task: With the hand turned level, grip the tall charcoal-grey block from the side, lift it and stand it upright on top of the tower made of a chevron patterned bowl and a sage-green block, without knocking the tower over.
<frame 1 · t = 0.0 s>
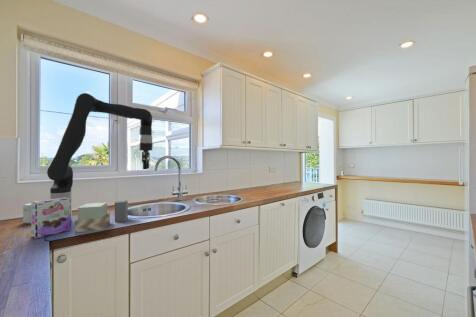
hand: (146, 168, 136), 29 cm above the worktop, tool pointing down, fingers open, 8 cm apart
candy box: (52, 233, 106), on the worktop
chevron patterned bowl: (93, 227, 115), on the worktop
sage block: (93, 216, 115), point 6 cm above the worktop
grey block: (121, 220, 128), on the worktop
small box: (34, 222, 126), on the worktop
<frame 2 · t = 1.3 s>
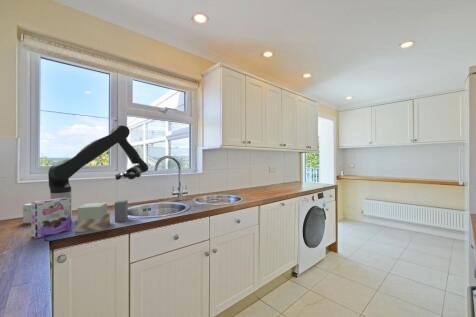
hand: (124, 177, 136), 24 cm above the worktop, tool horizontal, fingers open, 8 cm apart
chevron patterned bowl: (93, 227, 115), on the worktop, touching sage block
sage block: (93, 216, 115), point 6 cm above the worktop, touching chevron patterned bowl
everything else where it was.
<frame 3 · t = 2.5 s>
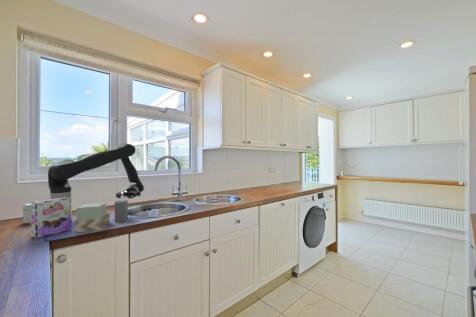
hand: (126, 196, 139), 12 cm above the worktop, tool horizontal, fingers open, 8 cm apart
nothing on the worktop moved.
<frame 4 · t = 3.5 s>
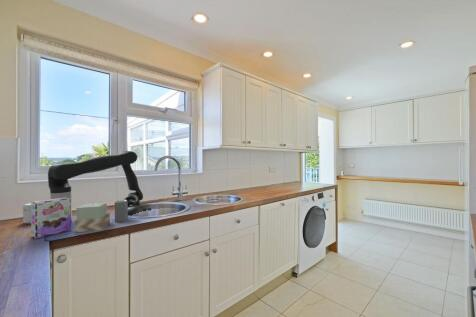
hand: (125, 205, 137), 6 cm above the worktop, tool horizontal, fingers open, 8 cm apart
nothing on the worktop moved.
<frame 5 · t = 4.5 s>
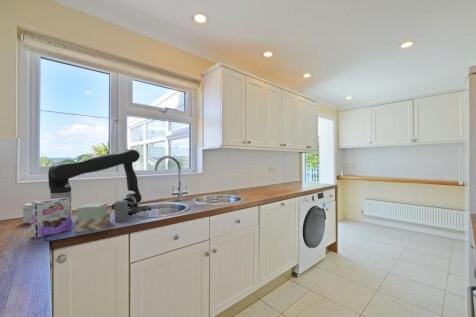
hand: (122, 207, 131), 7 cm above the worktop, tool horizontal, fingers open, 8 cm apart
nothing on the worktop moved.
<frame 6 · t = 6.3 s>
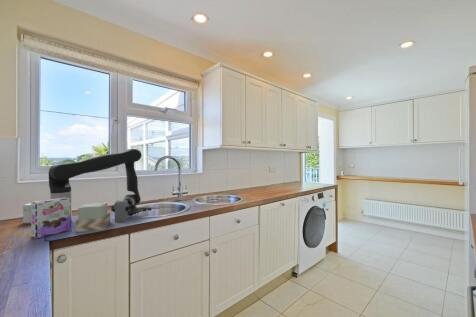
hand: (120, 209, 125), 7 cm above the worktop, tool horizontal, fingers closed on grey block, 5 cm apart
grey block: (121, 220, 128), on the worktop, touching gripper
everything else where it was.
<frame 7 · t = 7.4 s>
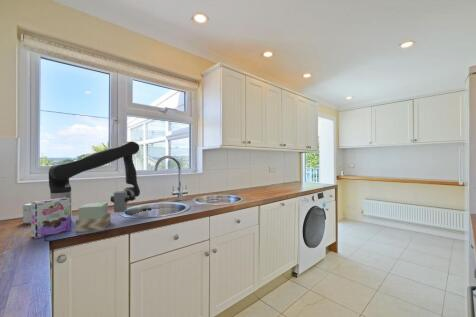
hand: (119, 200, 125), 12 cm above the worktop, tool horizontal, fingers closed on grey block, 5 cm apart
grey block: (120, 211, 127), point 5 cm above the worktop, touching gripper
everything else where it was.
when the fingers open (20 cm above the worktop, at t = 11.1 s): grey block drops 2 cm, resting on sage block.
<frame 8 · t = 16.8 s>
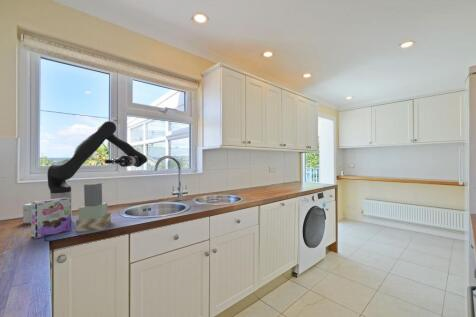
hand: (111, 161, 136), 34 cm above the worktop, tool horizontal, fingers open, 8 cm apart
sage block: (93, 216, 115), point 6 cm above the worktop, touching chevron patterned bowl, grey block
grey block: (93, 204, 115), point 12 cm above the worktop, touching sage block
everything else where it was.
at the end: grey block 0.2 cm off-centre on the sage block, point 6.0 cm above the sage block's base; grey block tilted 1°; sage block moved 0.4 cm from its start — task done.
